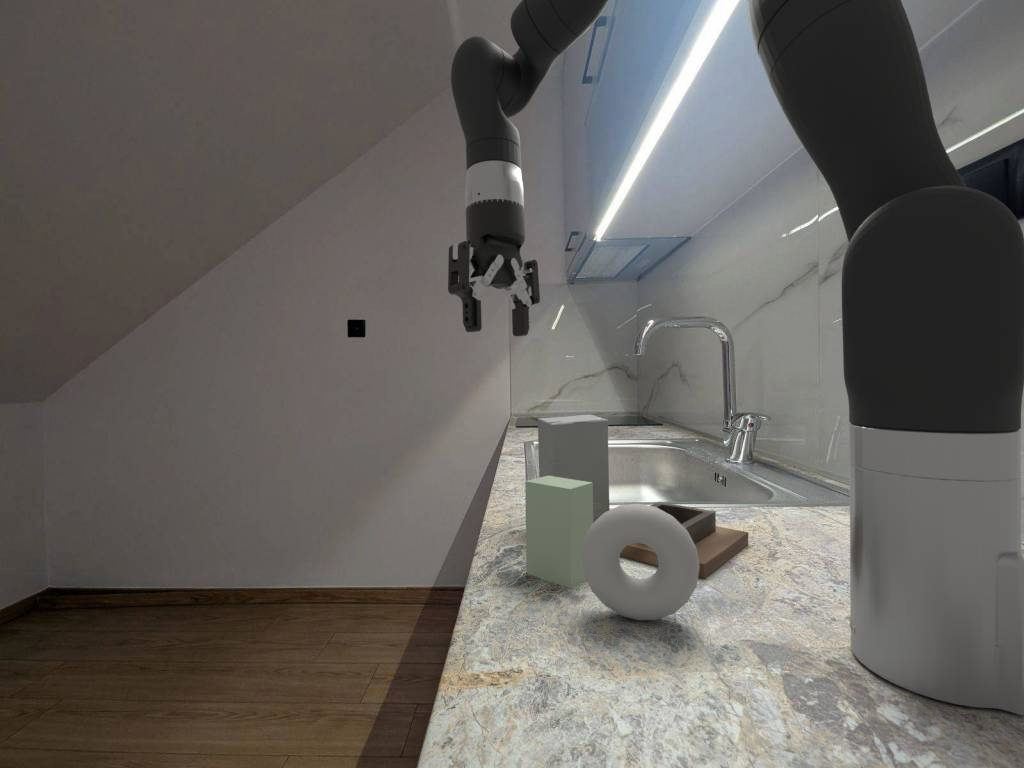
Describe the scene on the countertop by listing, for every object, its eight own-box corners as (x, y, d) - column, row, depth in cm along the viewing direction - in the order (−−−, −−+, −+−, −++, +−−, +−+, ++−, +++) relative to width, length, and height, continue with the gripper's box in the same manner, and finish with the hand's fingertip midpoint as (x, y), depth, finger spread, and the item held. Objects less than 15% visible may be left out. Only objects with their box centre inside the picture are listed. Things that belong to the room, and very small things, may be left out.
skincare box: (591, 521, 72) (590, 413, 72) (613, 536, 65) (612, 417, 65) (536, 526, 70) (535, 415, 70) (553, 542, 63) (552, 419, 63)
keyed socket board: (748, 544, 61) (748, 512, 61) (704, 578, 51) (704, 540, 51) (645, 522, 71) (645, 495, 71) (591, 548, 60) (590, 516, 60)
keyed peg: (593, 576, 52) (592, 482, 52) (571, 588, 49) (570, 489, 49) (549, 562, 56) (548, 475, 56) (526, 573, 53) (525, 481, 53)
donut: (698, 615, 43) (697, 502, 43) (702, 635, 40) (701, 512, 40) (584, 603, 46) (583, 496, 46) (579, 620, 42) (578, 505, 42)
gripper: (473, 183, 55) (477, 327, 55) (552, 213, 65) (555, 334, 65) (432, 201, 60) (435, 333, 60) (511, 227, 71) (514, 339, 70)
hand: (498, 334), depth 63 cm, fingers open, 8 cm apart
